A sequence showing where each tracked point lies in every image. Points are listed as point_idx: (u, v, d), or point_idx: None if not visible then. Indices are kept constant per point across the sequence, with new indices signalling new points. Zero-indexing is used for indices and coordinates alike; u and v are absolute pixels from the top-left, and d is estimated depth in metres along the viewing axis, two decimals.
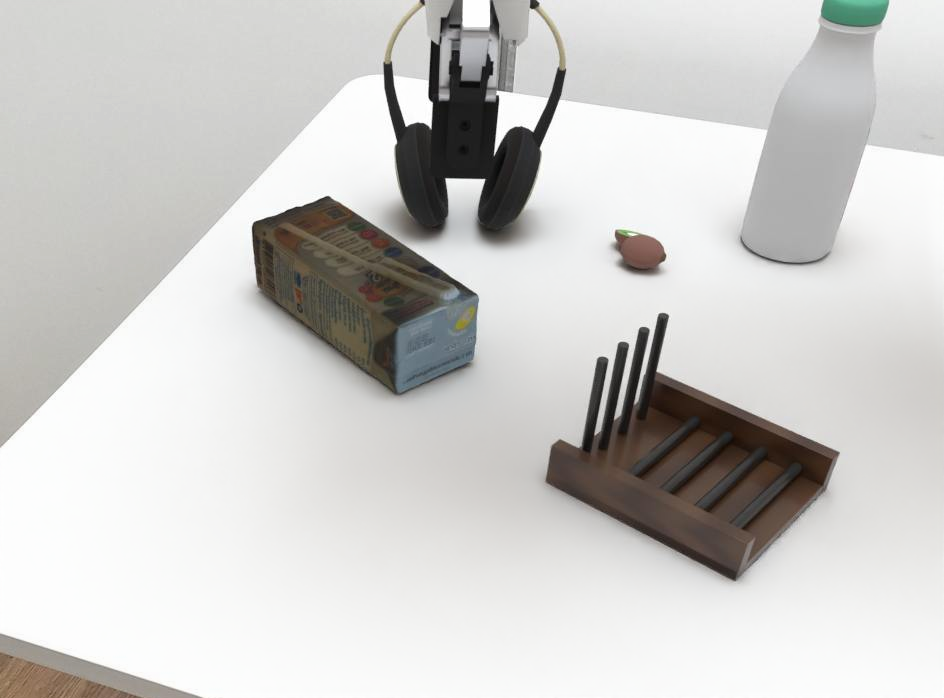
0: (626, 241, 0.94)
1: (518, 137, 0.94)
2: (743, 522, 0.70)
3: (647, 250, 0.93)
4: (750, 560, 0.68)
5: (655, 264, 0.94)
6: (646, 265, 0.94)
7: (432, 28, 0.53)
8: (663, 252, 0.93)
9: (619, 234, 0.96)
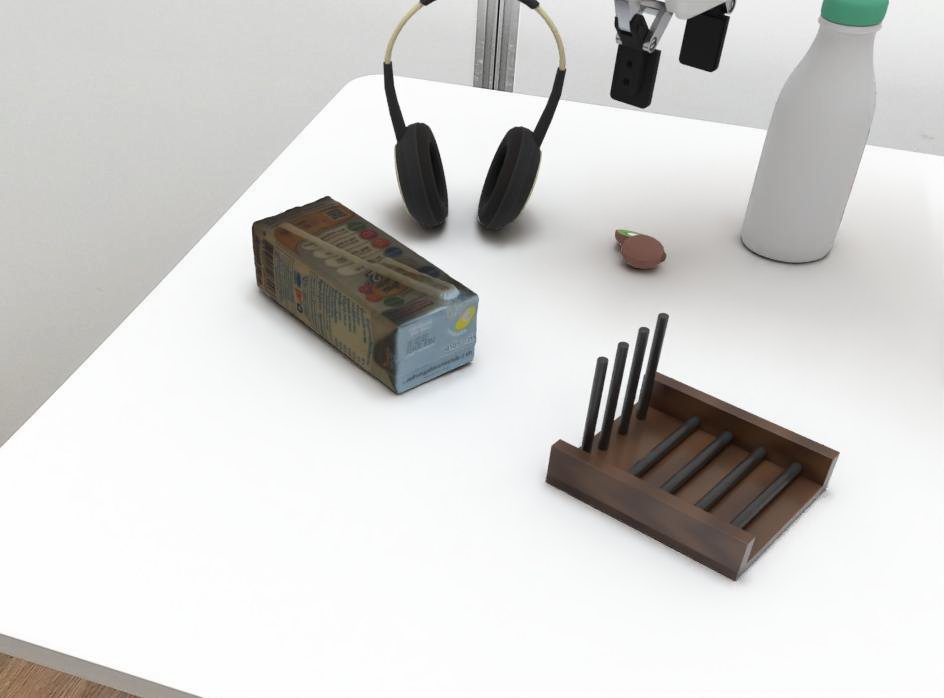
0: (626, 241, 0.94)
1: (518, 137, 0.94)
2: (743, 522, 0.70)
3: (647, 250, 0.93)
4: (750, 560, 0.68)
5: (655, 264, 0.94)
6: (646, 265, 0.94)
7: None
8: (663, 252, 0.93)
9: (619, 234, 0.96)
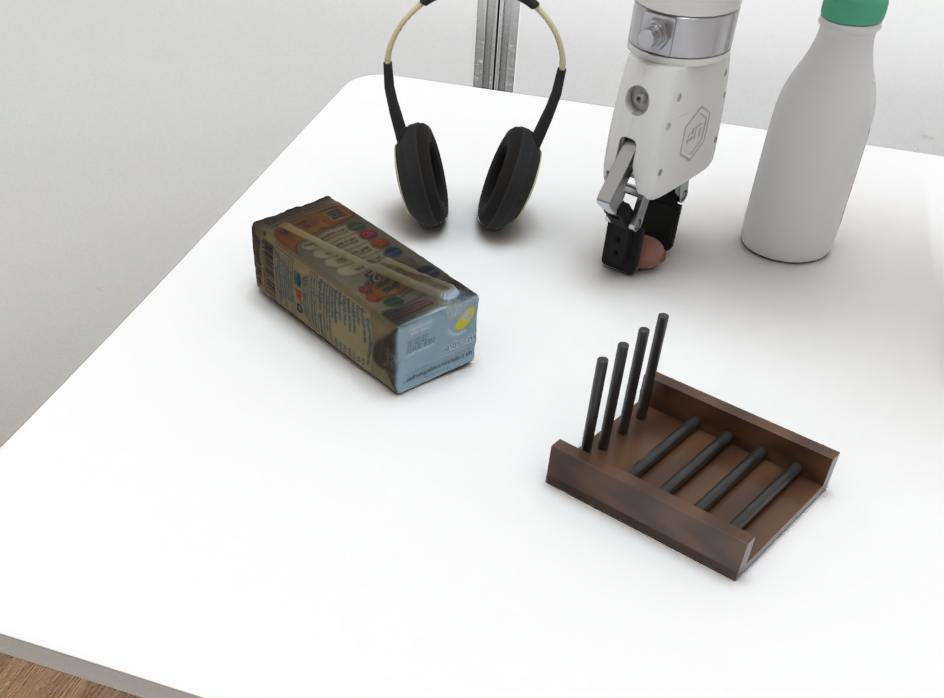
0: None
1: (518, 137, 0.94)
2: (743, 522, 0.70)
3: (647, 250, 0.93)
4: (750, 560, 0.68)
5: (655, 264, 0.94)
6: (646, 265, 0.94)
7: (603, 174, 0.89)
8: (663, 252, 0.93)
9: None
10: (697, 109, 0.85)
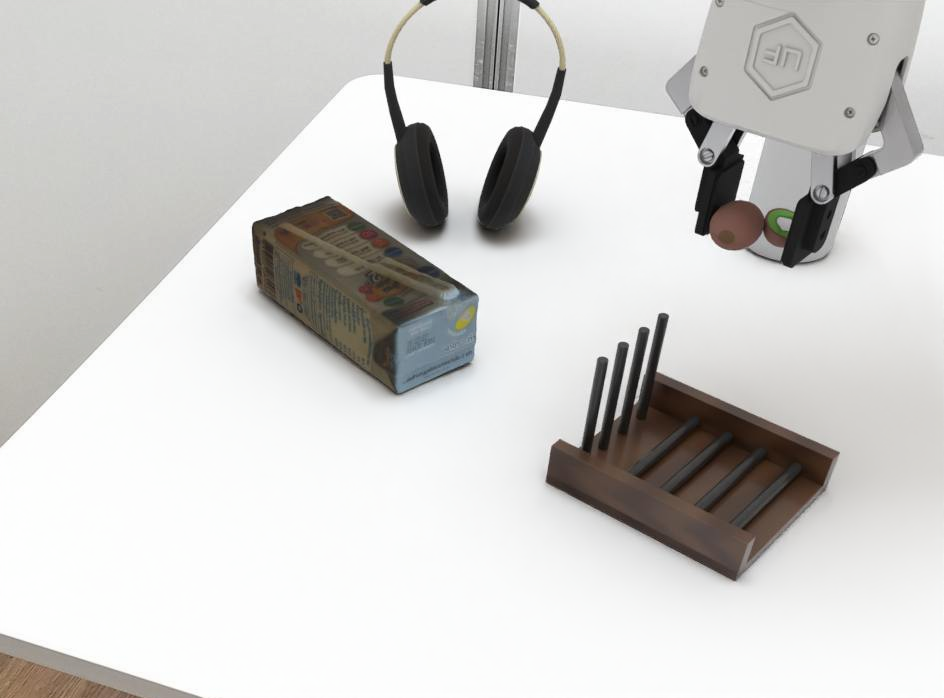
0: None
1: (518, 137, 0.94)
2: (743, 522, 0.70)
3: (718, 213, 0.65)
4: (750, 560, 0.68)
5: (714, 238, 0.66)
6: None
7: None
8: (728, 230, 0.65)
9: None
10: (782, 12, 0.56)
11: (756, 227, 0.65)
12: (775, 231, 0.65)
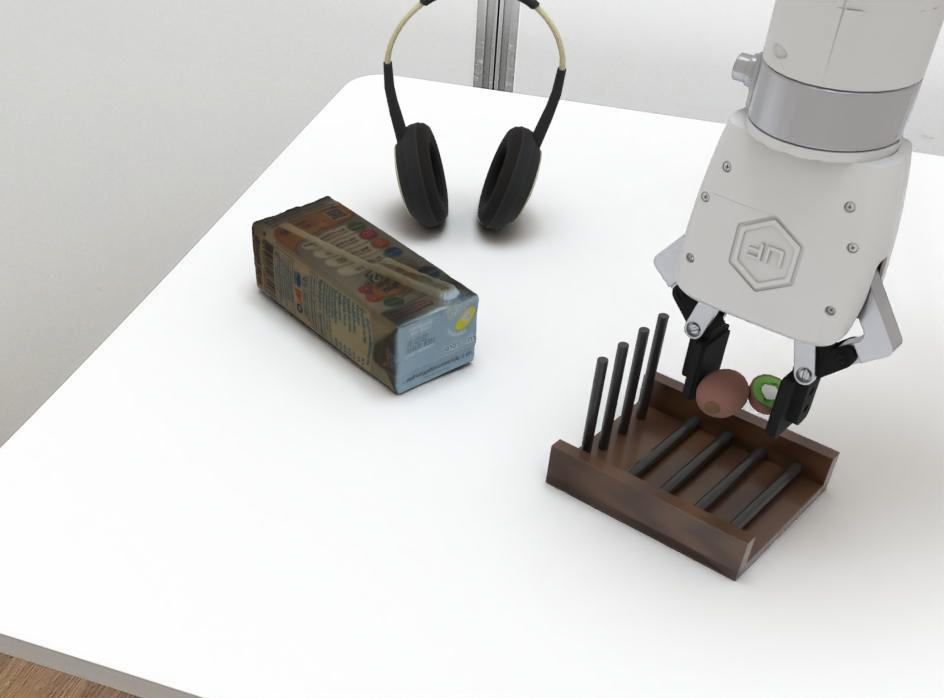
0: None
1: (518, 137, 0.94)
2: (743, 522, 0.70)
3: (704, 382, 0.67)
4: (750, 560, 0.68)
5: (700, 407, 0.68)
6: (696, 399, 0.68)
7: None
8: (714, 401, 0.67)
9: (760, 376, 0.69)
10: (766, 215, 0.58)
11: (741, 398, 0.67)
12: (759, 401, 0.67)
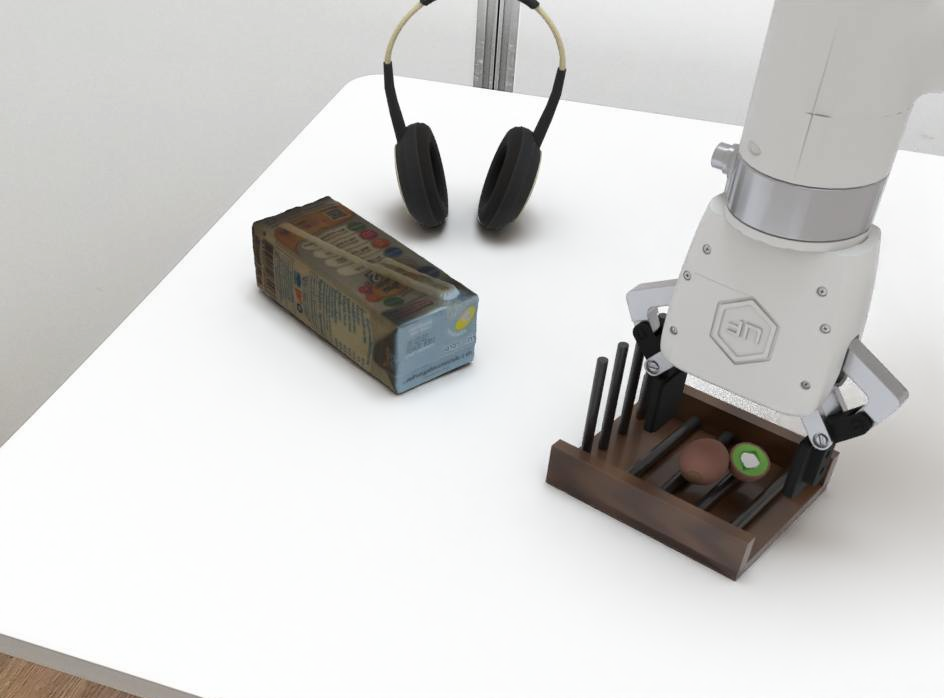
0: (707, 438, 0.72)
1: (518, 137, 0.94)
2: (743, 522, 0.70)
3: (687, 452, 0.71)
4: (750, 560, 0.68)
5: (683, 475, 0.71)
6: (679, 467, 0.72)
7: None
8: (696, 471, 0.70)
9: (739, 444, 0.72)
10: (743, 295, 0.61)
11: (721, 467, 0.70)
12: (739, 469, 0.71)
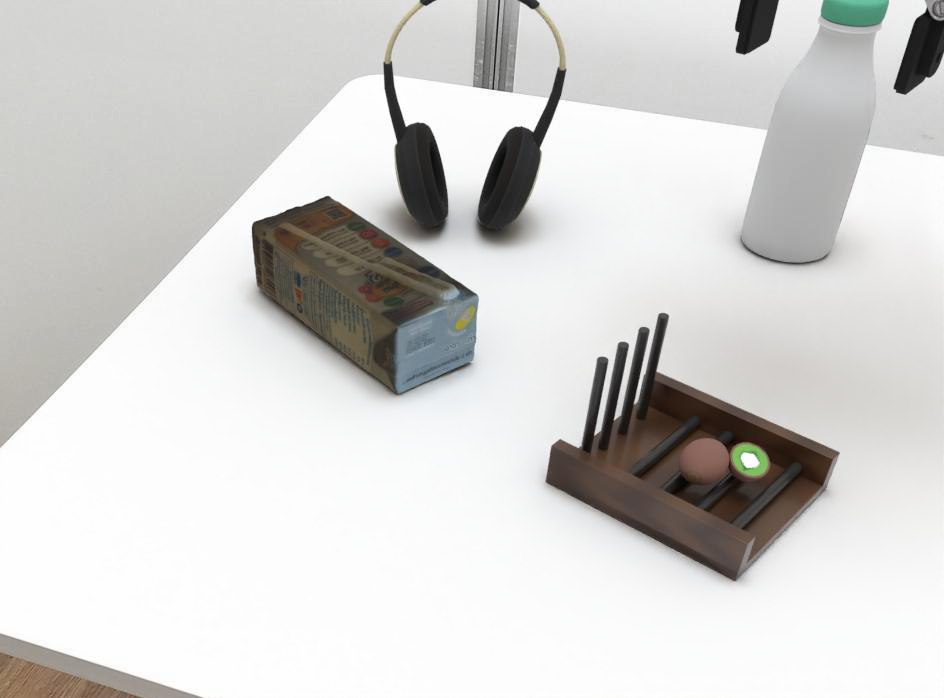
0: (707, 438, 0.72)
1: (518, 137, 0.94)
2: (743, 522, 0.70)
3: (687, 452, 0.71)
4: (750, 560, 0.68)
5: (683, 475, 0.71)
6: (679, 467, 0.72)
7: None
8: (696, 471, 0.70)
9: (739, 444, 0.72)
10: None
11: (721, 467, 0.70)
12: (739, 469, 0.71)
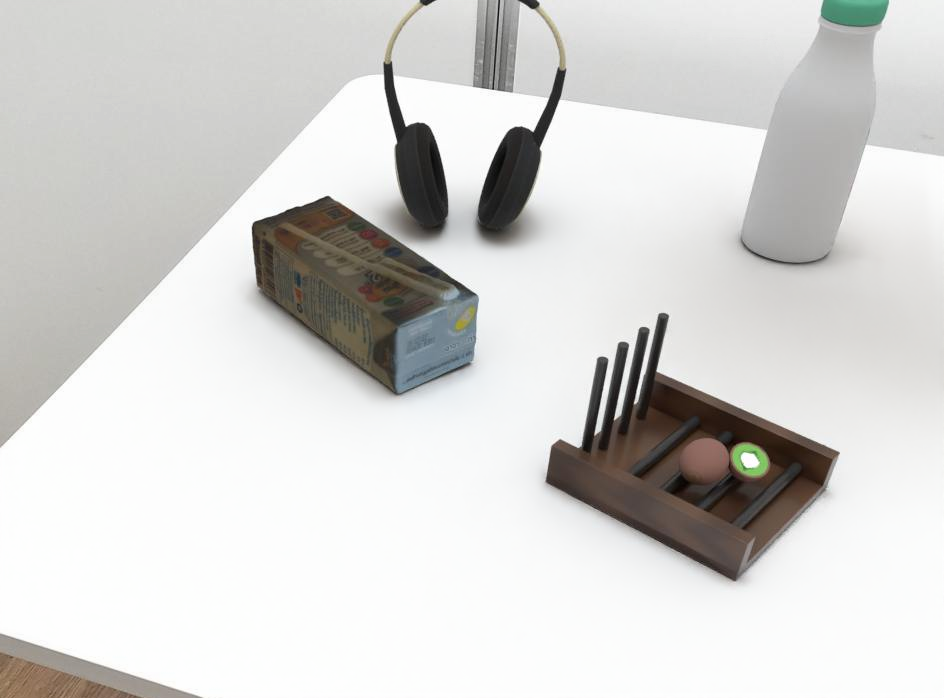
0: (707, 438, 0.72)
1: (518, 137, 0.94)
2: (743, 522, 0.70)
3: (687, 452, 0.71)
4: (750, 560, 0.68)
5: (683, 475, 0.71)
6: (679, 467, 0.72)
7: None
8: (696, 471, 0.70)
9: (739, 444, 0.72)
10: None
11: (721, 467, 0.70)
12: (739, 469, 0.71)
